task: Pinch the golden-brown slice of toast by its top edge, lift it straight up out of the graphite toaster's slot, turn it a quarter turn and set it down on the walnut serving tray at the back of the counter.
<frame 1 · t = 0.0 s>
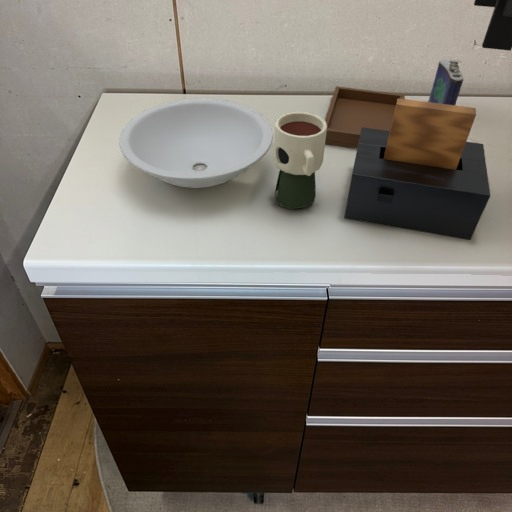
hand: (490, 25, 53), 27 cm above the cabinet, tool pointing down, fingers open, 13 cm apart
tray: (363, 124, 90), on the cabinet
white bowl: (200, 169, 79), on the cabinet
toaster: (407, 202, 73), on the cabinet
flask: (438, 115, 93), on the cabinet
toast: (413, 181, 70), point 4 cm above the cabinet, touching toaster
character mug: (294, 200, 73), on the cabinet
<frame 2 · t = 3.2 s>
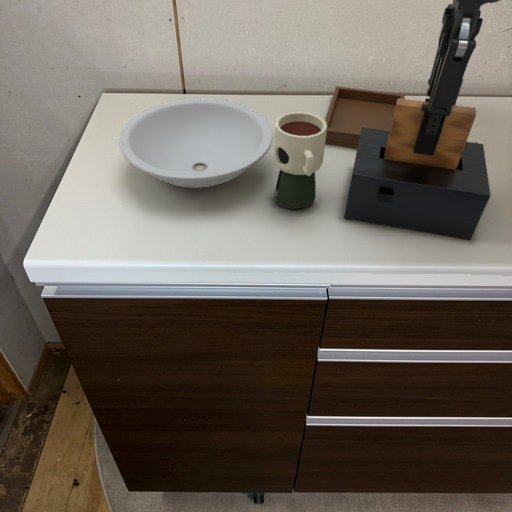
hand: (423, 147, 66), 10 cm above the cabinet, tool pointing down, fingers closed on toast, 2 cm apart
toast: (413, 181, 70), point 4 cm above the cabinet, touching gripper, toaster
everything else where it was.
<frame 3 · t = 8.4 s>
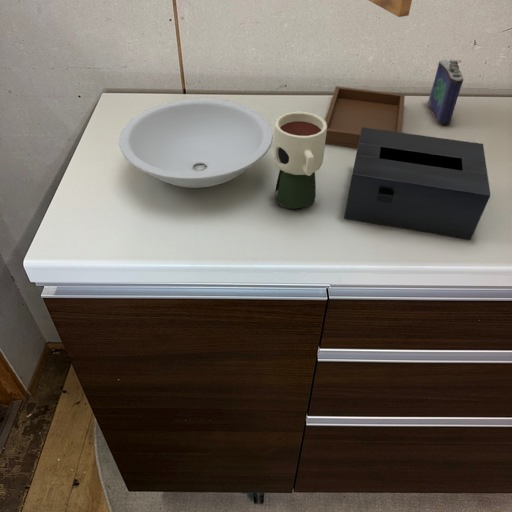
toast: (385, 6, 75), point 21 cm above the cabinet, touching gripper
everything else where it was.
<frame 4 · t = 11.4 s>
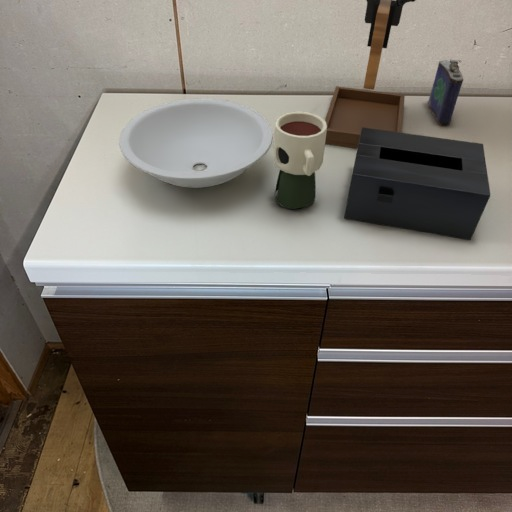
hand: (377, 44, 79), 15 cm above the cabinet, tool pointing down, fingers closed on toast, 2 cm apart
toast: (371, 76, 83), point 9 cm above the cabinet, touching gripper
everything else where it was.
when the fingers open (6 cm above the cabinet, at t = 13.6 s): toast stays where it is, resting on tray.
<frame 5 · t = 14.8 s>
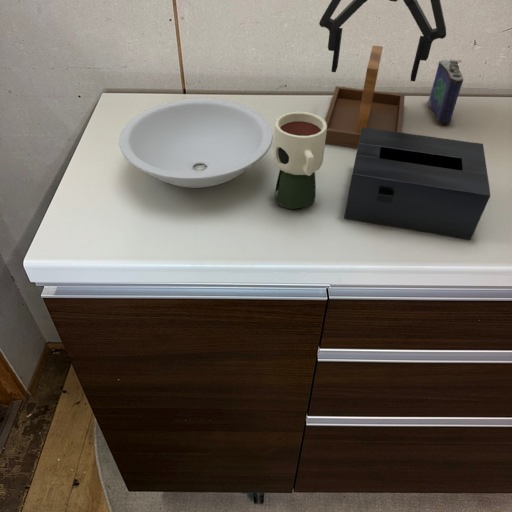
hand: (373, 73, 83), 10 cm above the cabinet, tool pointing down, fingers open, 13 cm apart
toast: (363, 120, 89), point 1 cm above the cabinet, touching tray
everything else where it was.
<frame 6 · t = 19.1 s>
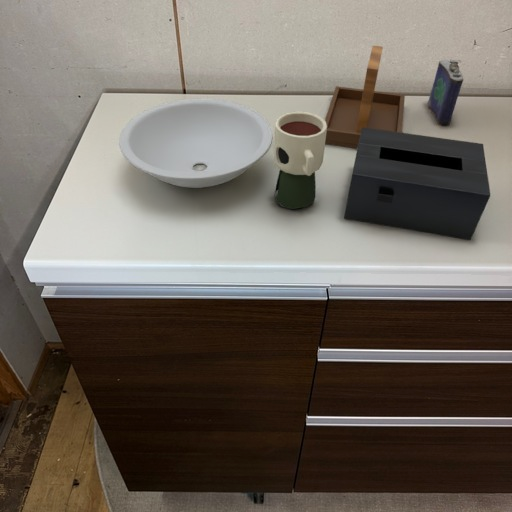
nothing on the cabinet moved.
at the end: toast inside the target area in the tray (0.1 cm from its centre), point 0.8 cm above the tray's base; the gripper is holding nothing; toast moved 24.0 cm from its start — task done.
